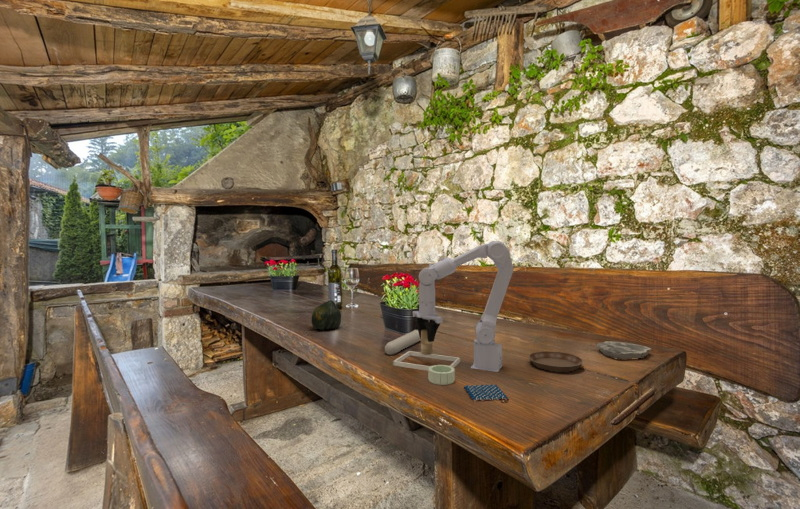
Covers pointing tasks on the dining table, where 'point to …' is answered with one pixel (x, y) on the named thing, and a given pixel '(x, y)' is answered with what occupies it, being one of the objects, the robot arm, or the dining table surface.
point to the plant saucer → (555, 361)
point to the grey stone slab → (623, 350)
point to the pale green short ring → (441, 374)
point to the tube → (402, 342)
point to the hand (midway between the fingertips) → (426, 340)
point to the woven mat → (485, 393)
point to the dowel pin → (425, 343)
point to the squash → (326, 316)
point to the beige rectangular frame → (434, 356)
